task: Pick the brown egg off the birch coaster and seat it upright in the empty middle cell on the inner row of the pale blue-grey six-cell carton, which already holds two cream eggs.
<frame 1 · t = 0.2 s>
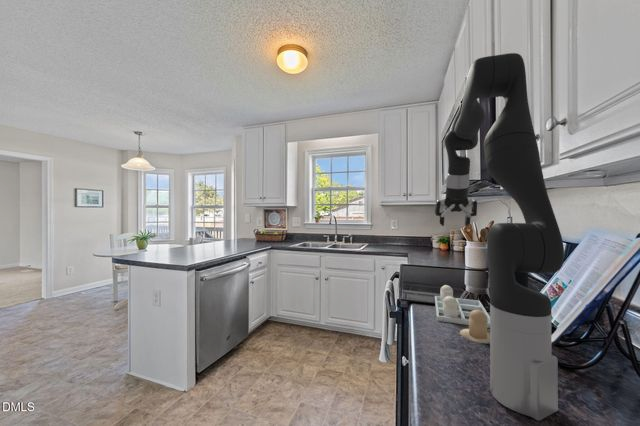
hand: (454, 225, 104), 31 cm above the countertop, tool tilted 20°, fingers open, 8 cm apart
birch coaster: (478, 337, 75), on the countertop
brown egg: (478, 335, 75), point 1 cm above the countertop, touching birch coaster
cream egg B: (450, 318, 88), resting on egg carton
egg carton: (460, 313, 93), on the countertop
wine bottle: (516, 315, 92), on the countertop
cream egg A: (446, 303, 102), resting on egg carton
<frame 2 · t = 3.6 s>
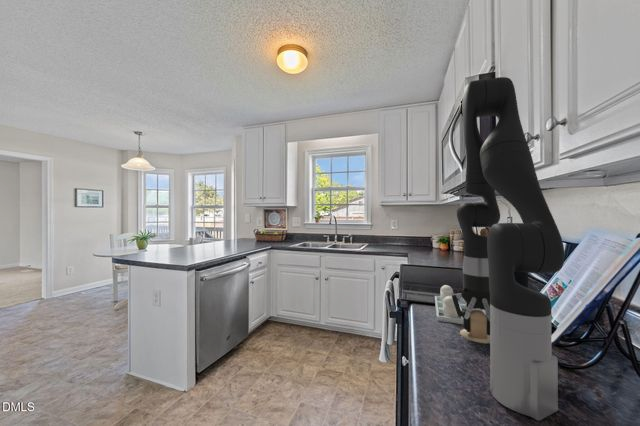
hand: (478, 332, 75), 2 cm above the countertop, tool pointing down, fingers closed on brown egg, 4 cm apart
brown egg: (478, 335, 75), point 1 cm above the countertop, touching birch coaster, gripper
everything else where it was.
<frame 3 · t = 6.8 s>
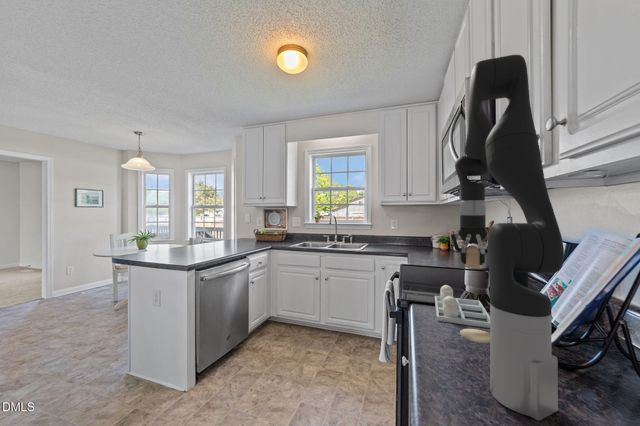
hand: (472, 263, 89), 18 cm above the countertop, tool pointing down, fingers closed on brown egg, 4 cm apart
brown egg: (472, 266, 90), point 17 cm above the countertop, touching gripper
everything else where it was.
when the fingers open (2 cm above the countertop, at t = 9.6 s): brown egg stays where it is, resting on egg carton.
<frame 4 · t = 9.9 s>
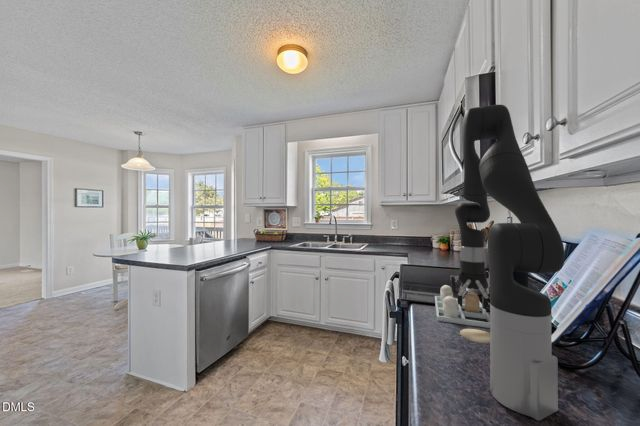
hand: (472, 306, 92), 3 cm above the countertop, tool pointing down, fingers open, 6 cm apart
brown egg: (472, 313, 92), resting on egg carton
everything else where it was.
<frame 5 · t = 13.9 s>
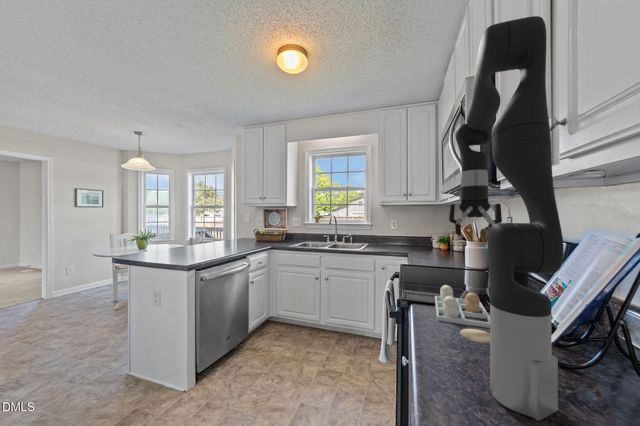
hand: (474, 236, 83), 28 cm above the countertop, tool pointing down, fingers open, 8 cm apart
nothing on the countertop moved.
at the end: brown egg 0.0 cm from the target spot on the egg carton, point 0.5 cm above the egg carton's base; brown egg tilted 0°; the gripper is holding nothing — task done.
